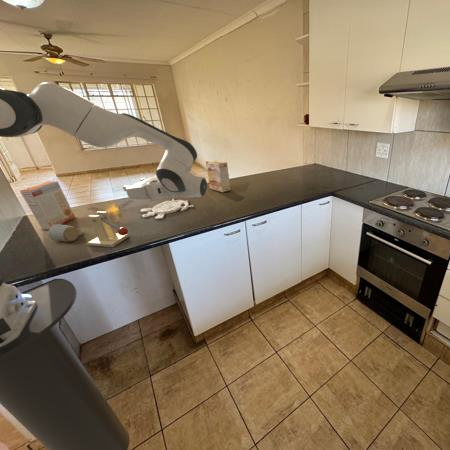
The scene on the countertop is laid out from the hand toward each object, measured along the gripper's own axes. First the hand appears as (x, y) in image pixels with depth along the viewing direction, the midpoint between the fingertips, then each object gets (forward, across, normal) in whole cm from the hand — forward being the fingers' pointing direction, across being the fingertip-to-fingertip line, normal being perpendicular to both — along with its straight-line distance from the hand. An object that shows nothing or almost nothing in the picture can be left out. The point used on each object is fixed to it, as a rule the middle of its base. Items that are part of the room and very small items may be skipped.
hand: (133, 184), depth 97 cm
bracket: (+22, 0, +28) cm, 36 cm away
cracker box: (+63, -13, +28) cm, 70 cm away
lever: (+18, 0, +21) cm, 28 cm away
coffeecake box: (0, -73, +28) cm, 78 cm away
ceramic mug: (+42, 0, +28) cm, 50 cm away
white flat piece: (+18, -38, +28) cm, 50 cm away
